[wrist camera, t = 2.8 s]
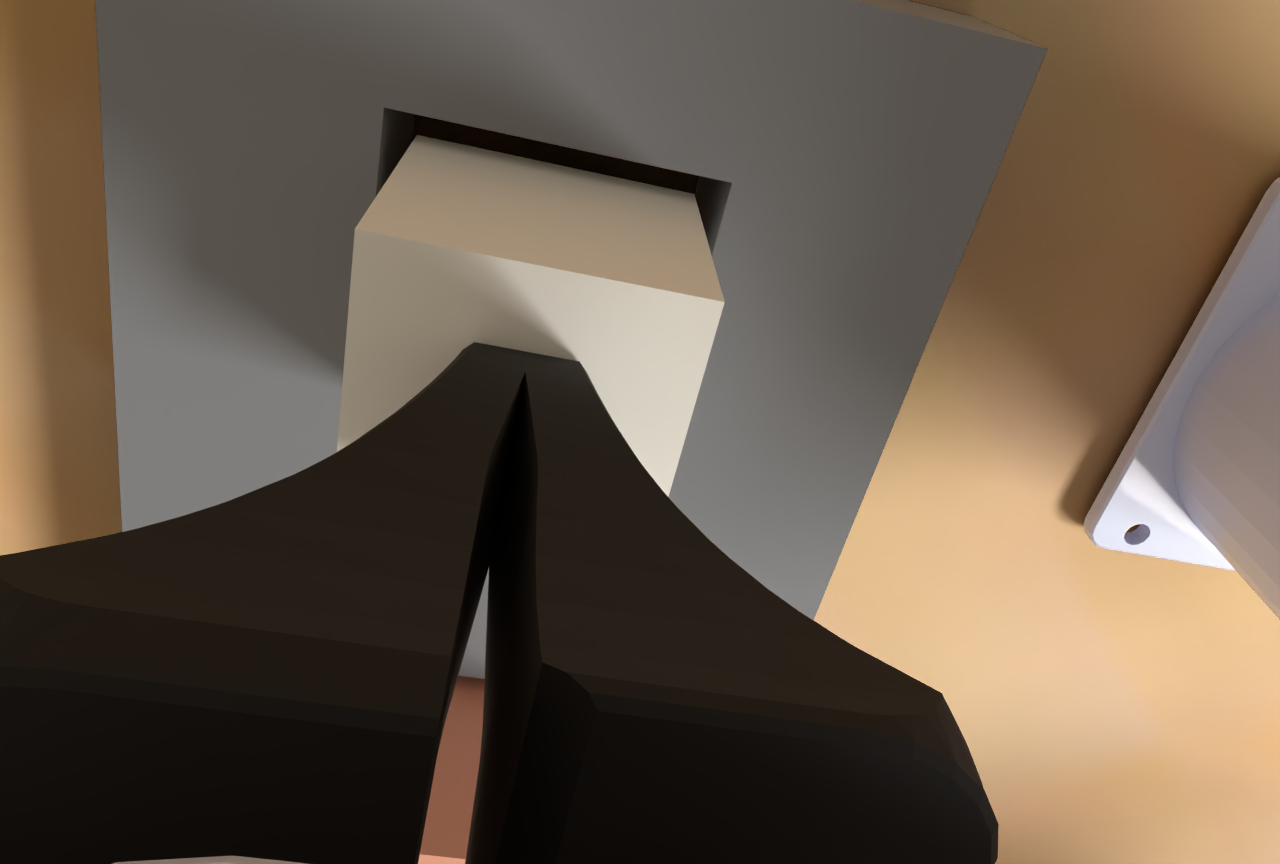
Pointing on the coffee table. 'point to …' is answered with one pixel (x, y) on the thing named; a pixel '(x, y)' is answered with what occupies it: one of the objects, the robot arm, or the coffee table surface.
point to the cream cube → (531, 287)
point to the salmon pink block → (455, 777)
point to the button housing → (571, 117)
